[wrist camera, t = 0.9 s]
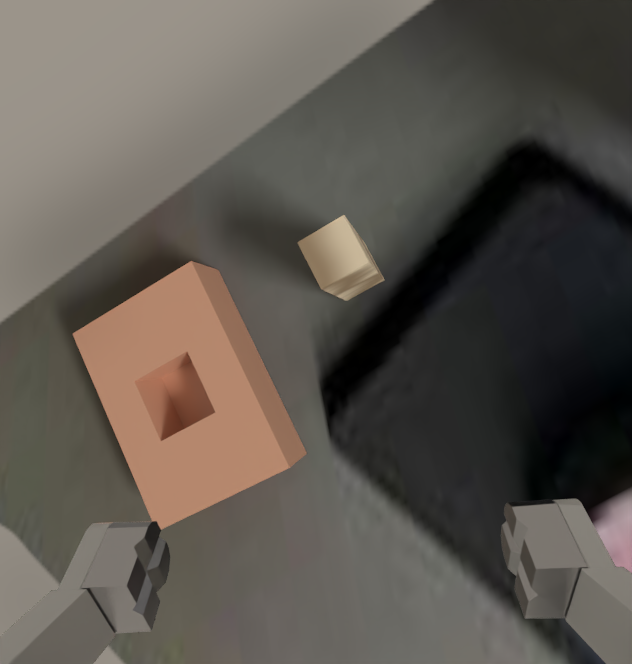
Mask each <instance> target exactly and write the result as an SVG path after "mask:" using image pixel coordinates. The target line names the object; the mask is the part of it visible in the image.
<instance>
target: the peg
mask: <svg viewBox="0 0 632 664" xmlns="http://www.w3.org/2000/svg"><path fill="white" fill-rule="evenodd" d="M297 243H298V245H299V247H300V249H301V251H302V253H303V255H304V257H305V259H306V260H307V262H308V264H309V266H310V268H311V270H312V272H313V274H314V276H315V278H316V280H317V282H318V284H319V286H320V288H321V289H322V290H324V291H326V292H328V293H330V294H333V295H335V296H337V297H339V298H341V299H343V300H346V301H347V300H349V299H351V298H353V297H355V296H356V295H358V294H360V293H362V292H364V291H366V290H367V289H369V288H371V287H373V286H375V285H376V284H378V283H380V282H382V281H384V278H383V276H382V274H381V273H380V271H379V269H378V267H377V265H376V263H375V261H374V259H373V258H372V256H371V254H370V252H369V250H368V248H367V246H366V244H365V243H364V241H363V240H362V239H361V237H360V236H359V234H358V233H357V232H356V230H355V229H354V228H353V226H352V225H351V224H350V222H349V221H348V220H347V218H346V217H345V215H343V216H341V217H339V218H338V219H336V220H334V221H333V222H331V223H329V224H328V225H326V226H324V227H322V228H321V229H319V230H317V231H316V232H314V233H312V234H311V235H309V236H307V237H306V238H304V239H302V240H300V241H299V242H297Z"/></svg>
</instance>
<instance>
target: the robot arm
mask: <svg viewBox="0 0 632 664" xmlns="http://www.w3.org/2000/svg"><path fill="white" fill-rule="evenodd" d="M504 514H505V517H506V520H507V522H505V523H504V524H503V525H502V530H501V542H502V549H503V554H504V558H505V561H506V564H507V567H508V569H509V570H510V571H511V572H512V573H514V574H515V575H516V582H515V587H514V588H515V591H516V594H517V597H518V600H519V603H520V606H521V609H522V612H523V615H524V618H566V621H567V622H568V624H569V625H570V626H571V627H572V628H573V629H574V630H575V631H576V632H577V633H578V634H579V635H580V636H581V637H582V638H583V639H584V641H585V642H586V643H587V644H588V645H589V646H590V647H591V648H592V649H593V650H594V651H595V652H596V653H597V654H598V655H599V657H600V658H601V659H602V660H603V661H604V662H605V663H606V664H632V573H630V572H629V571H628V570H627V569H625V568H624V567H616V566H615V564H614V562H613V561H612V559H611V557H610V555H609V553H608V551H607V550H606V548H605V546H604V544H603V542H602V540H601V538H600V537H599V535H598V533H597V531H596V529H595V527H594V526H593V524H592V522H591V520H590V518H589V516H588V515H587V513H586V511H585V509H584V507H583V505H582V503H581V502H580V501H578V500H577V499H562V500H536V501H521V502H507V504H506V505H505V509H504ZM160 531H161V529H160V527H159V525H158V523H157V521H146V522H110V523H93V524H92V525H91V526H90V527H89V528H88V529H87V530H86V532H85V534H84V536H83V538H82V540H81V542H80V544H79V547H78V549H77V551H76V553H75V555H74V557H73V559H72V561H71V563H70V565H69V567H68V569H67V571H66V573H65V576H64V578H63V580H62V582H61V584H60V586H59V588H58V590H51V591H50V592H49V593H48V594H47V595H46V596H45V597H43V598H42V599H41V600H40V601H39V602H38V603H37V604H36V605H35V606H33V607H32V608H31V609H30V610H29V611H28V612H27V613H26V614H24V616H22V617H21V618H20V619H19V620H18V621H17V622H16V623H14V624H13V625H12V626H11V627H10V628H9V629H8V630H7V631H5V632H4V633H3V634H2V635H1V636H0V664H93V663H94V662H95V661H96V660H97V658H98V657H99V656H100V655H101V653H102V652H103V651H104V650H105V648H106V647H107V646H108V645H109V643H110V642H111V641H112V640H113V638H114V637H115V633H129V632H145V631H152V627H153V624H154V620H155V617H156V614H157V610H158V607H159V604H160V600H159V598H158V595H157V593H156V592H157V591H158V590H159V589H160V588H161V587H162V586H163V585H164V584H165V583H166V579H167V576H168V572H169V564H170V553H169V548H168V545H167V543H166V541H164V540H163V539H161V538H160V537H159V534H160Z"/></svg>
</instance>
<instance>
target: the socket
mask: <svg viewBox="0 0 632 664" xmlns="http://www.w3.org/2000/svg"><path fill="white" fill-rule="evenodd" d="M73 336H74V339H75V341H76V344H77V346H78V348H79V351H80V353H81V355H82V358H83V360H84V362H85V365H86V367H87V369H88V372H89V374H90V376H91V379H92V381H93V383H94V386H95V388H96V390H97V393H98V395H99V397H100V400H101V402H102V404H103V407H104V409H105V411H106V414H107V416H108V418H109V421H110V423H111V425H112V428H113V430H114V432H115V435H116V437H117V439H118V442H119V444H120V447H121V449H122V451H123V454H124V456H125V458H126V461H127V463H128V465H129V468H130V470H131V472H132V475H133V477H134V479H135V482H136V484H137V486H138V489H139V491H140V493H141V496H142V498H143V500H144V503H145V505H146V507H147V510H148V512H149V514H150V517H151V519H152V521H157V523H158V525H159V527H160V529H163V528H165V527H167V526H169V525H171V524H174V523H176V522H178V521H180V520H182V519H184V518H186V517H188V516H190V515H192V514H194V513H196V512H198V511H201V510H203V509H205V508H207V507H209V506H211V505H213V504H215V503H217V502H219V501H221V500H223V499H226V498H228V497H230V496H232V495H234V494H236V493H238V492H240V491H242V490H244V489H246V488H248V487H251V486H253V485H255V484H257V483H259V482H261V481H263V480H265V479H267V478H269V477H271V476H273V475H276V474H278V473H280V472H282V471H284V470H286V469H288V468H290V467H291V466H292V465H294V464H295V463H296V462H297V461H298V460H300V459H301V458H302V457H303V456H304V455H306V454H307V453H306V450H305V448H304V446H303V444H302V442H301V440H300V438H299V436H298V434H297V432H296V430H295V428H294V426H293V424H292V421H291V419H290V417H289V415H288V413H287V411H286V409H285V407H284V405H283V403H282V401H281V399H280V397H279V395H278V392H277V390H276V388H275V386H274V384H273V382H272V380H271V378H270V376H269V374H268V372H267V370H266V368H265V366H264V363H263V361H262V359H261V357H260V355H259V353H258V351H257V349H256V347H255V345H254V343H253V341H252V339H251V337H250V334H249V332H248V330H247V328H246V326H245V324H244V322H243V320H242V318H241V316H240V314H239V312H238V310H237V308H236V306H235V303H234V301H233V299H232V297H231V295H230V293H229V291H228V289H227V287H226V285H225V283H224V281H223V279H222V277H221V274H220V272H219V270H217V269H214V268H211V267H208V266H205V265H202V264H199V263H196V262H193V261H190V262H189V263H187V264H185V265H184V266H182V267H180V268H179V269H177V270H176V271H174V272H172V273H171V274H169V275H167V276H166V277H164V278H163V279H161V280H159V281H158V282H156V283H154V284H153V285H151V286H149V287H148V288H146V289H145V290H143V291H141V292H140V293H138V294H136V295H135V296H133V297H132V298H130V299H128V300H127V301H125V302H123V303H122V304H120V305H119V306H117V307H115V308H114V309H112V310H110V311H109V312H107V313H106V314H104V315H102V316H101V317H99V318H97V319H96V320H94V321H92V322H91V323H89V324H88V325H86V326H84V327H83V328H81V329H79V330H78V331H76V332H75V333H73Z"/></svg>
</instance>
